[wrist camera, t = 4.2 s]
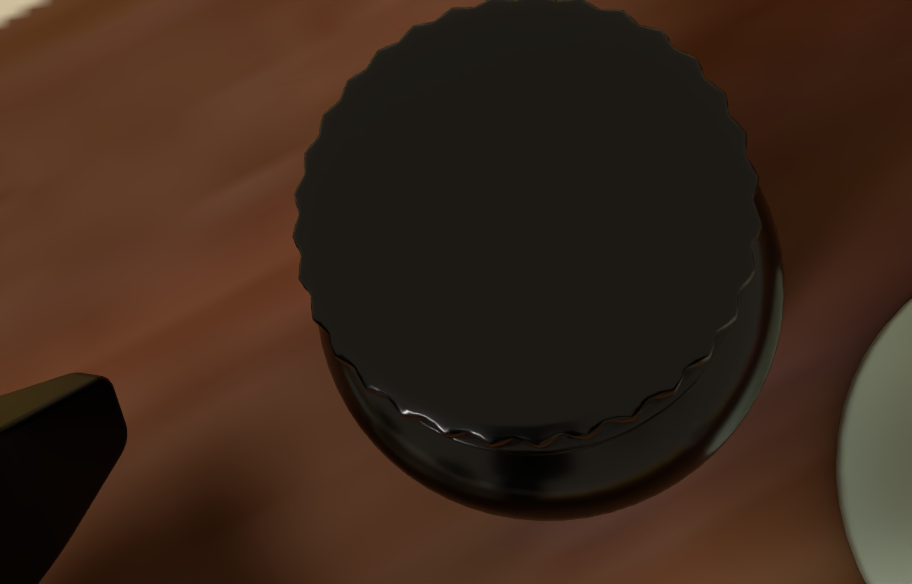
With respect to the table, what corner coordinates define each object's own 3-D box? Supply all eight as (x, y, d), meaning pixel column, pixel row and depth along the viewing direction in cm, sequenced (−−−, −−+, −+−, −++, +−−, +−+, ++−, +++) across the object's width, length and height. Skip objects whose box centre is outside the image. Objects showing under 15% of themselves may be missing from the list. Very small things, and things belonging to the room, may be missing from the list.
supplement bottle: (421, 227, 21) (210, -66, 9) (690, 207, 20) (839, -153, 8) (426, 497, 19) (184, 559, 8) (716, 491, 18) (945, 550, 7)
